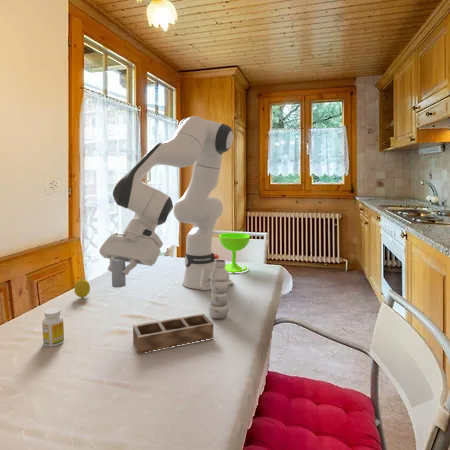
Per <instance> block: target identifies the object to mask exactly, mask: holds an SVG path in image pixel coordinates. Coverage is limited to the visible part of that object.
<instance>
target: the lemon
mask: <svg viewBox="0 0 450 450" xmlns="http://www.w3.org/2000/svg"><path fill="white" fill-rule="evenodd" d="M73 290H74V293H75V295H76V296H77V297H78V298H81V299H84V298H85V297H87V296H88V295H89V293H90V291H91V286H90V283H89V281H88V280H86V279H84V278H83V277H82V278H80V279H78V280H77V281H76V282H75V284H74V289H73Z"/></svg>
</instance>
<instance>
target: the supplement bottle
mask: <svg viewBox="0 0 450 450" xmlns="http://www.w3.org/2000/svg"><path fill="white" fill-rule="evenodd" d="M41 325H42V340H43V341H42V342H43V345H44V346H45V347H49V348H50V347H51V348H52V347H56V346H59V345H61V344H63V342H64V341H65V332H64V330H65V329H64V317H63V316H62V315H61V309H60V308H58V307H55V308H49V309H46V310H45V311H44V318H43V319H42V323H41Z"/></svg>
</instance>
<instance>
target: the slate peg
mask: <svg viewBox="0 0 450 450" xmlns="http://www.w3.org/2000/svg"><path fill="white" fill-rule="evenodd" d="M123 267H126V262H125V259H113V260H112V272H111V286H112V287H113V288H115V289H116V288H123V287H126V285H127V284H126V280H127V279H126V276H127V275H126V274H123V273H122V272H121V271H122V269H123Z"/></svg>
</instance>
